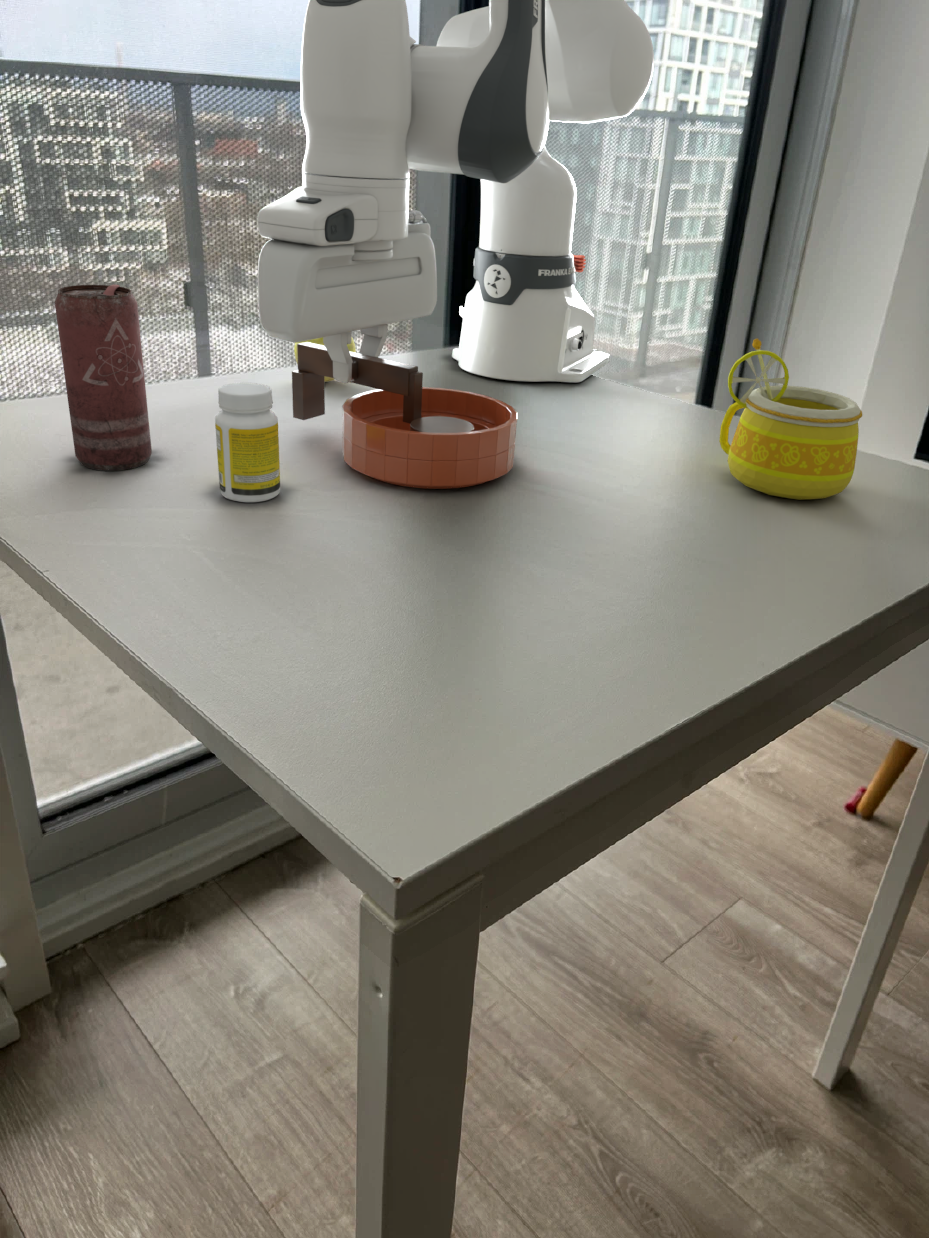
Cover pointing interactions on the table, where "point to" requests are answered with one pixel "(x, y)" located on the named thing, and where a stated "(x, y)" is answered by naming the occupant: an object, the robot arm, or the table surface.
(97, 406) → the can
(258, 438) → the supplement bottle
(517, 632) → the table surface
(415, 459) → the bowl
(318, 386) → the brown bridge
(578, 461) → the table surface
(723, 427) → the mug
